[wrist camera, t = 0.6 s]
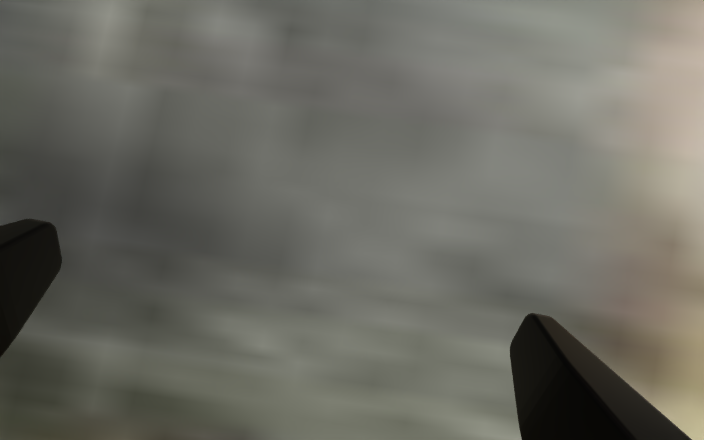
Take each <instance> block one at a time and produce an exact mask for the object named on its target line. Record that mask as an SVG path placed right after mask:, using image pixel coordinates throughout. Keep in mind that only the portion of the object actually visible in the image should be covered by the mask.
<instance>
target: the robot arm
mask: <svg viewBox="0 0 704 440" xmlns="http://www.w3.org/2000/svg"><path fill="white" fill-rule="evenodd" d="M61 264H62V257H61V251H60V246H59V241H58V236H57V231H56V228H55V226H54V225H53V224H51V223H50V222H45V221H40V220H35V219H24V220H20V221H17V222H13V223H10V224H6V225H3V226H0V357H1V356H2V355H3V354H4V352H5V351H6V350H7V348H8V347H9V346H10V344H11V343H12V342H13V340H14V339H15V338H16V336H17V335H18V333H19V332H20V330H21V329H22V327H23V326H24V324H25V323H26V321H27V320H28V318H29V317H30V315H31V314H32V312H33V311H34V309H35V307H36V306H37V304H38V303H39V301H40V300H41V298H42V297H43V295H44V294H45V292H46V291H47V289H48V288H49V286H50V284H51V283H52V281H53V280H54V278H55V277H56V275H57V274H58V272H59V270H60V267H61ZM510 359H511V367H512V375H513V383H514V391H515V399H516V407H517V415H518V421H519V428H520V433H521V437H522V440H692V439H691V438H689V437H688V436H687V435H686V434H685V433H684V432H683V431H681V430H680V429H679V428H678V427H677V426H676V425H675V424H673V423H672V422H671V421H670V420H669V419H668V418H667V417H665V416H664V415H663V414H662V413H661V412H660V411H659V410H657V409H656V408H655V407H654V406H653V405H652V404H651V403H649V402H648V401H647V400H646V399H645V398H644V397H643V396H641V395H640V394H639V393H638V392H637V391H636V390H634V389H633V388H632V387H631V386H630V385H629V384H628V383H626V382H625V381H624V380H623V379H622V378H621V377H620V376H618V375H617V374H616V373H615V372H614V371H613V370H612V369H610V368H609V367H608V366H607V365H606V364H605V363H604V362H602V361H601V360H600V359H599V358H598V357H597V356H596V355H594V354H593V353H592V352H591V351H590V350H589V349H588V348H586V347H585V346H584V345H583V344H582V343H581V342H580V341H578V340H577V339H576V338H575V337H574V336H573V335H572V334H570V333H569V332H568V331H567V330H566V329H565V328H564V327H562V326H561V325H560V324H559V323H558V322H557V321H556V320H554V319H553V318H552V317H550V316H546V315H541V314H535V313H530V314H528V315H527V316H526V317H525V318H524V320H523V322H522V324H521V326H520V327H519V329H518V331H517V333H516V335H515V336H514V338H513V340H512V342H511V346H510Z"/></svg>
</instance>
